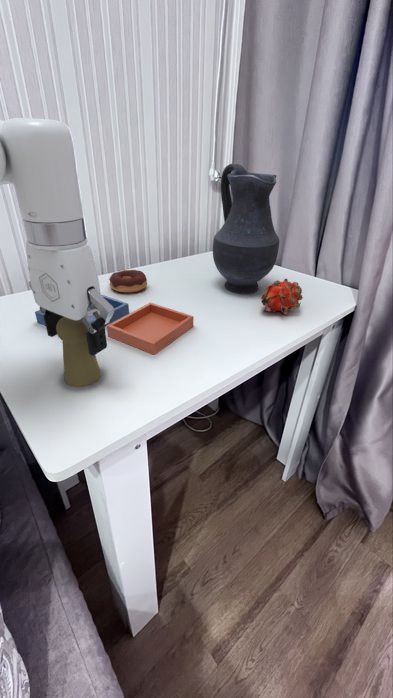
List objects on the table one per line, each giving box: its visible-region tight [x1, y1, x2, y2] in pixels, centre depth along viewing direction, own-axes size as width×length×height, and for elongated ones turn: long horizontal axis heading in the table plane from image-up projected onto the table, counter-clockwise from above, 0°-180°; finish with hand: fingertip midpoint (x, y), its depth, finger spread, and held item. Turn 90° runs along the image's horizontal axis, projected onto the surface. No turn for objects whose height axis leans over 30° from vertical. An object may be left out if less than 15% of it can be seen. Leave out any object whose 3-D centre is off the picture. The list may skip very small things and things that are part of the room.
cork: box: [56, 317, 102, 388], centre depth 54 cm, size 6×6×11 cm
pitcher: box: [212, 163, 280, 295], centre depth 87 cm, size 17×21×30 cm
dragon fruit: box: [260, 278, 304, 315], centre depth 80 cm, size 8×8×12 cm
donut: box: [109, 269, 148, 293], centre depth 89 cm, size 10×10×4 cm
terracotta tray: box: [106, 302, 195, 356], centre depth 70 cm, size 14×12×2 cm
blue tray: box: [34, 294, 130, 327], centre depth 74 cm, size 15×13×2 cm
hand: (77, 341), depth 53 cm, fingers open, 9 cm apart
